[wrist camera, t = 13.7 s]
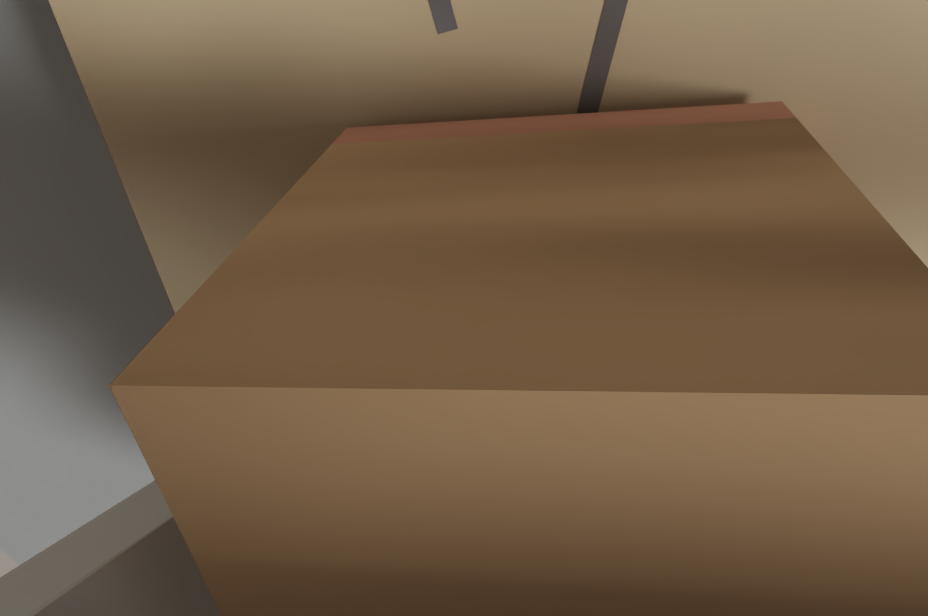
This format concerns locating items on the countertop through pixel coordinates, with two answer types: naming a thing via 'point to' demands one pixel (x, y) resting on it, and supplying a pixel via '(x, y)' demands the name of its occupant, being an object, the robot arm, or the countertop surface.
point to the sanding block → (553, 379)
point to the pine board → (469, 89)
